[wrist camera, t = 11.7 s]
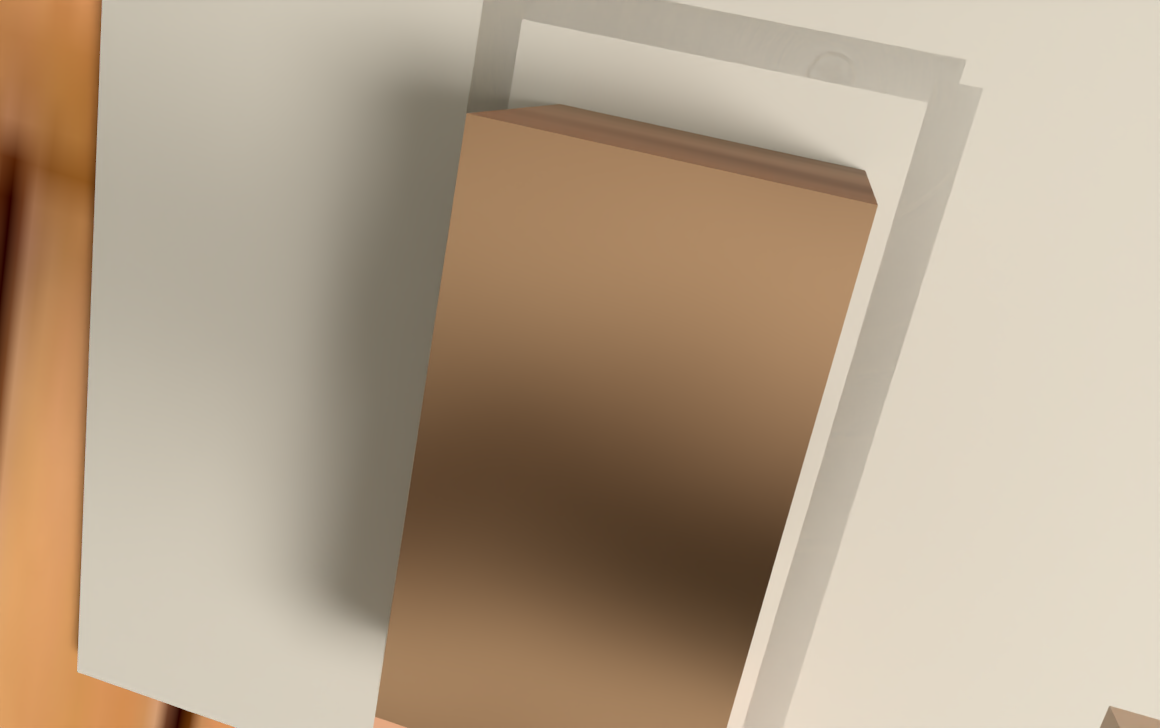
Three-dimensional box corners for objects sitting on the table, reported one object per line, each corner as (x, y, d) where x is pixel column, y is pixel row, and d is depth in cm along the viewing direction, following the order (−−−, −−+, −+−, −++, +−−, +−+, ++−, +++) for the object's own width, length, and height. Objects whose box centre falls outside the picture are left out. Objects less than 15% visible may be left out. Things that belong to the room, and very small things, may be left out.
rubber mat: (95, 657, 23) (77, 671, 22) (134, -214, 17) (110, -224, 17) (1089, 1001, 19) (1096, 1029, 19) (1555, 37, 14) (1588, 35, 13)
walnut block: (560, 103, 16) (466, 113, 12) (865, 170, 15) (878, 205, 11) (458, 662, 20) (359, 821, 16) (703, 742, 19) (667, 931, 15)
